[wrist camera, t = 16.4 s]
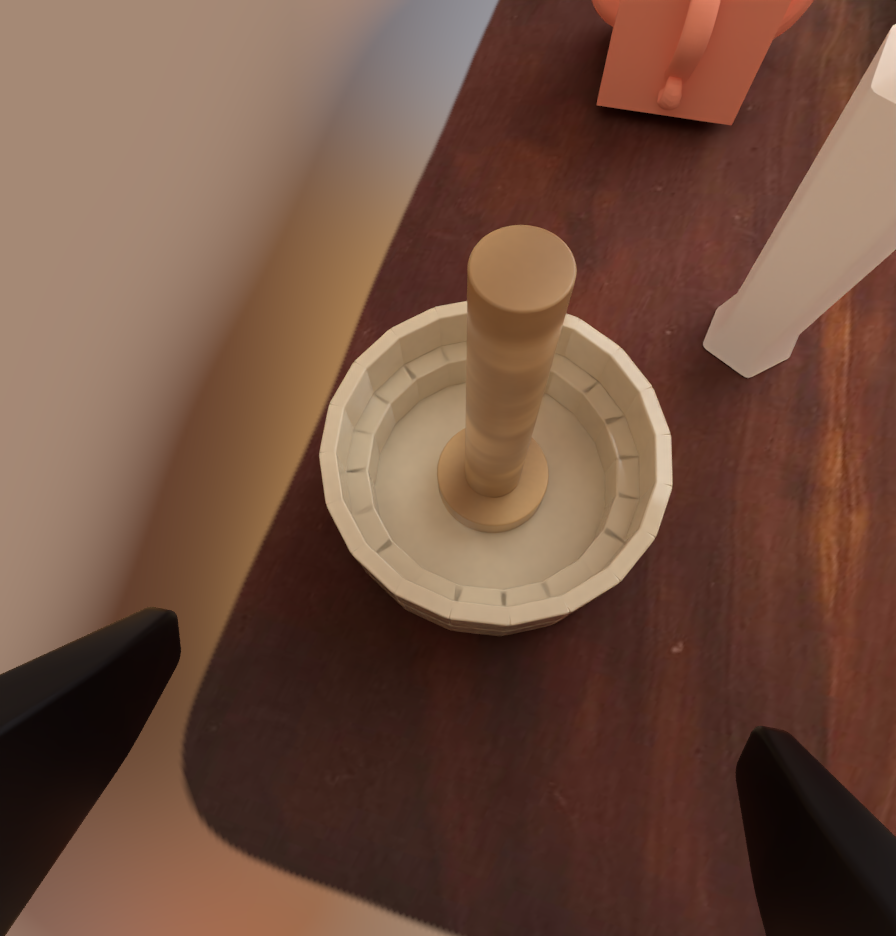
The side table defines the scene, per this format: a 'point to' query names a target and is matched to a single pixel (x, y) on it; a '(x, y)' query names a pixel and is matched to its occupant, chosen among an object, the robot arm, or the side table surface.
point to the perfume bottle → (820, 231)
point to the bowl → (563, 506)
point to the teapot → (688, 53)
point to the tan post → (506, 377)
